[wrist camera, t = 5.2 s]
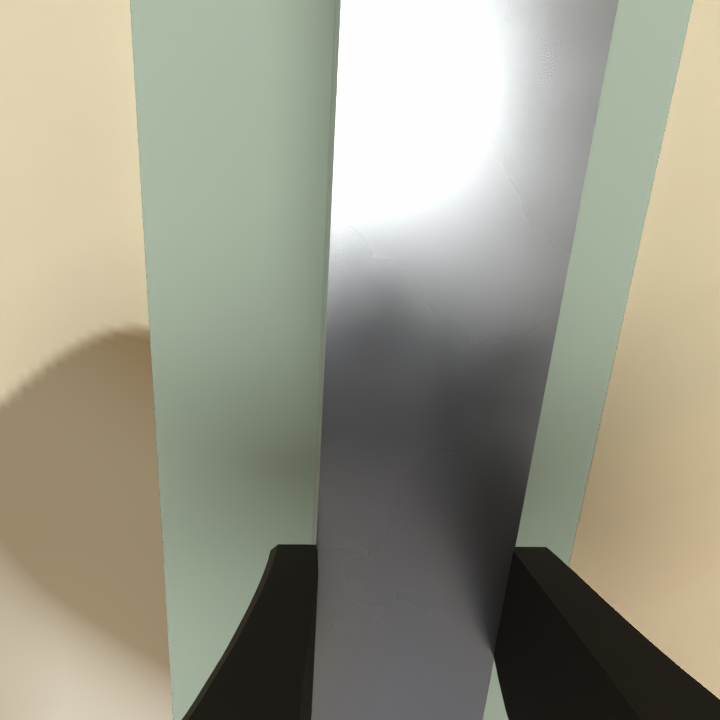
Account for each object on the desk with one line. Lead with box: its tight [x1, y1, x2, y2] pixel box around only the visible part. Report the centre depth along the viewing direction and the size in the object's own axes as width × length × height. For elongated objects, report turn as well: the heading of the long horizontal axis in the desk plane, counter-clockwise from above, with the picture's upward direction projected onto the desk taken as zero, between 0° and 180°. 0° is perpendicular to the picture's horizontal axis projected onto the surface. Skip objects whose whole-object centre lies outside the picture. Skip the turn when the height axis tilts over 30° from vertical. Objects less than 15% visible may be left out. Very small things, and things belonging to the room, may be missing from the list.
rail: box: [311, 0, 619, 720], centre depth 11 cm, size 19×3×3 cm, turn 176°
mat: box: [130, 0, 693, 720], centre depth 15 cm, size 22×10×1 cm, turn 176°
